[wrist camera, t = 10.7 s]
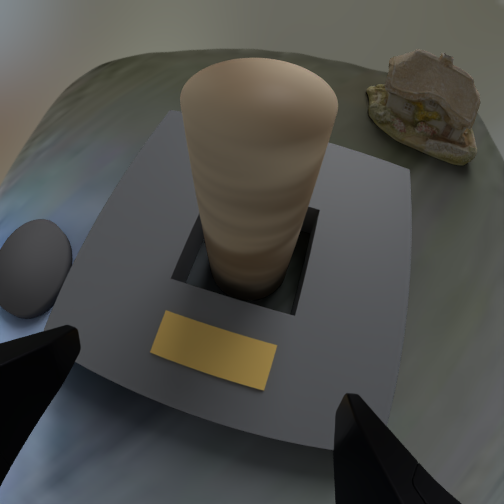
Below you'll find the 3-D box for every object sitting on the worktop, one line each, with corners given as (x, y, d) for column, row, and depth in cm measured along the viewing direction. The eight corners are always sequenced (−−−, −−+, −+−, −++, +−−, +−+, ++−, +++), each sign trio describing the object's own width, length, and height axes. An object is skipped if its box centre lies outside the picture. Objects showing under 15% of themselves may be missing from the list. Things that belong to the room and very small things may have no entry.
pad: (45, 335, 17) (37, 332, 16) (-13, 296, 18) (-19, 292, 17) (89, 239, 21) (83, 232, 20) (27, 216, 21) (22, 210, 21)
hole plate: (358, 448, 15) (380, 455, 12) (63, 349, 17) (38, 339, 14) (395, 192, 24) (410, 168, 21) (174, 135, 26) (169, 108, 23)
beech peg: (247, 316, 19) (260, 171, 7) (195, 262, 20) (151, 93, 9) (301, 265, 20) (365, 102, 9) (249, 218, 22) (259, 47, 10)
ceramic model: (352, 123, 28) (379, 39, 19) (370, 80, 32) (390, 16, 23) (469, 183, 25) (517, 117, 16) (464, 128, 30) (496, 72, 21)
